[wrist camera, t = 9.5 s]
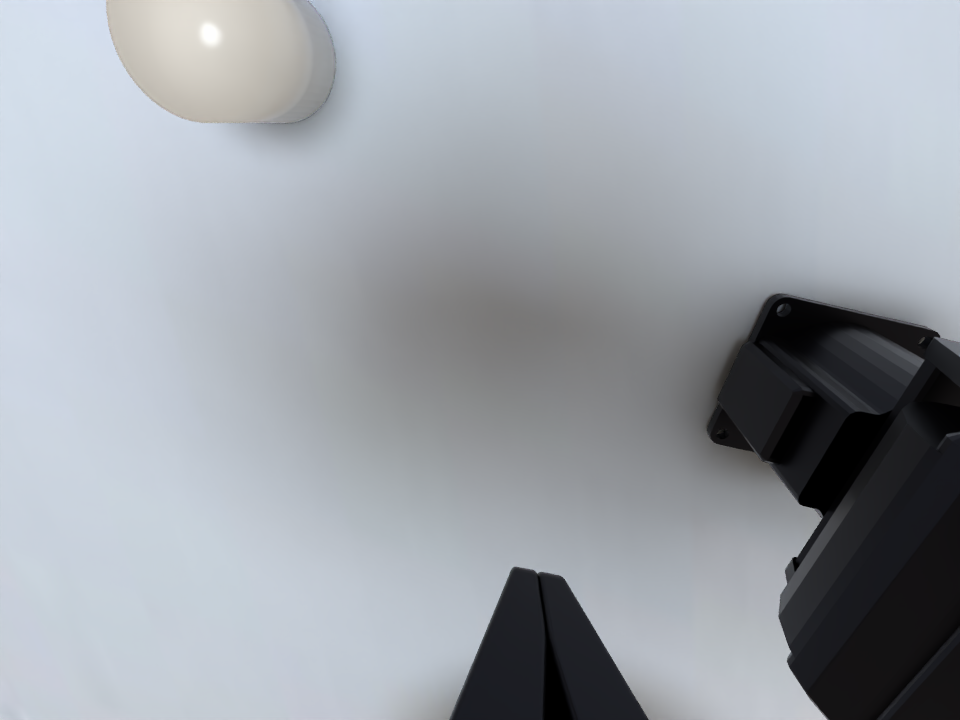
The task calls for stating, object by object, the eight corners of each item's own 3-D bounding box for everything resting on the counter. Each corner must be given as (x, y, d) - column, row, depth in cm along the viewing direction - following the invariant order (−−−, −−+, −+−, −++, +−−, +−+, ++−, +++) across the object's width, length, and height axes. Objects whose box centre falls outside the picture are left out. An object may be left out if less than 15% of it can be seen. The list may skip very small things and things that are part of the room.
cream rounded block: (341, -1, 16) (275, -50, 12) (330, 135, 18) (268, 139, 13) (215, -32, 16) (98, -93, 12) (215, 108, 18) (113, 102, 13)
